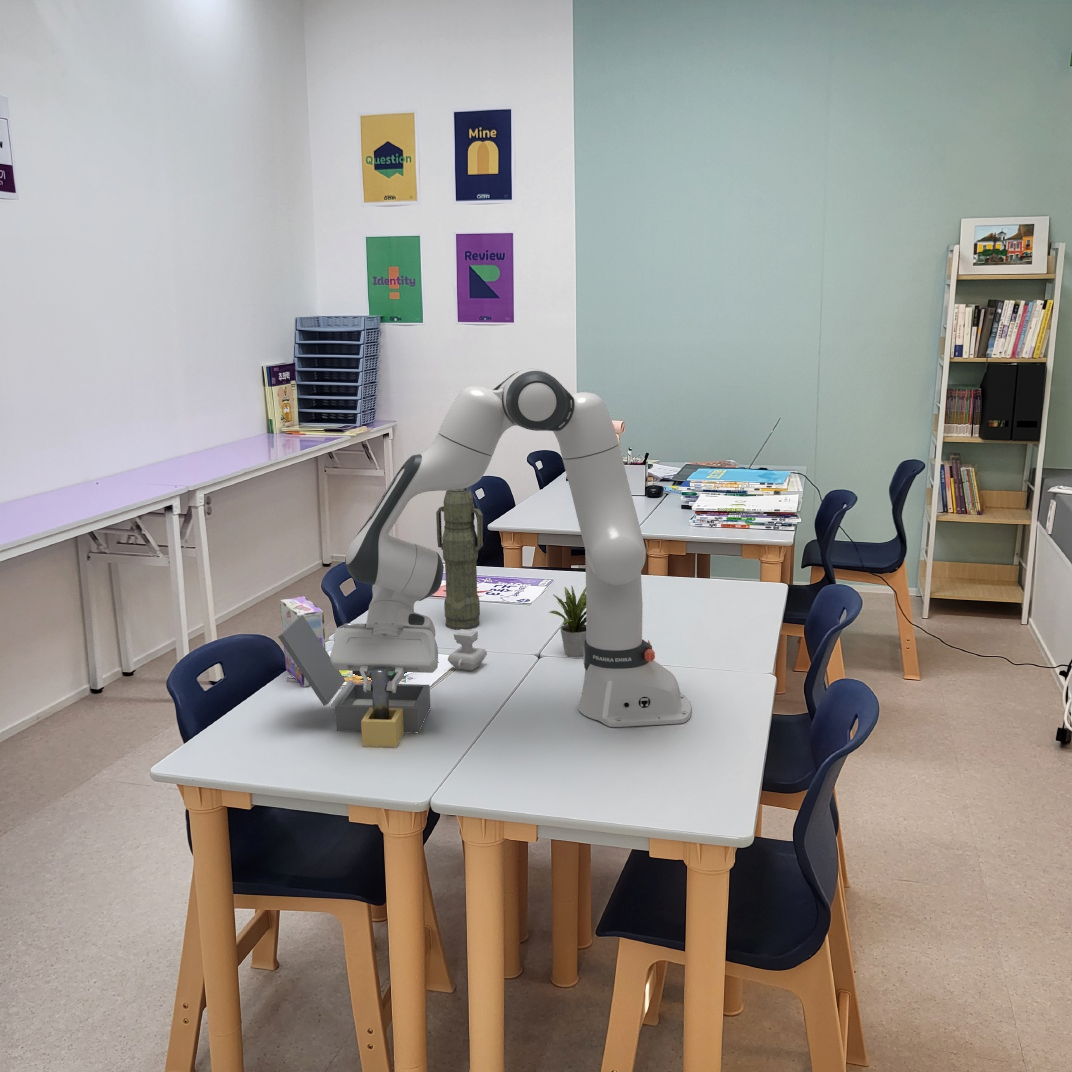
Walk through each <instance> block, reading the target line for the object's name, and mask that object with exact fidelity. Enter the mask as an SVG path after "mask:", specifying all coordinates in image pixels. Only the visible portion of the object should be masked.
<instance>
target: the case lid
mask: <svg viewBox="0 0 1072 1072" xmlns="http://www.w3.org/2000/svg"><path fill="white" fill-rule="evenodd" d="M277 637H278V640H279V641H280V642H281V645H283V648H284V647H285V648H286V650H287V651H288V653H289V654H290V656H291V657H292V659H293V660H294V662H295V663H296V665H297V666H298V668H299V669H300V671H301V672H302V674H303V675H304V677H305V678H306V680H307V681H308V683H309V684H310V686H309V687H310V688H311V689H312V691H313V692H314V694H315V695H316V697H317V698H318V700H319V701H320V703H321V705H323V707H326V706H327V705H329V703H330V702H331V701H332V699H333V698H334V697H335V695H336V694H337V693H338V691H339V690H340V689H341V687H342V686H343V685H344V683H345V681H346V679H345V677H344V676H343V675H342V673H341V672H340V671H341V670H336V669H335V668H334V667H333V665H332V664H331V662H330V655H329V653H328V652H327V650H326V647H325V648H324V647H323V645H322V644H321V642H320V641H319V639H318V638H317V636H316V635H315V633H314V632H313V630H312V629H311V627H310V625H309V624H308V622H307V621H306V619H305V618H304V616H303V615H301V616H299V617H298V618H297V619H296V620H295V621H294V622H293V623H292V624H291V625H290V626H289V627H288V628H287V629H286V630H285V631H284V632H283V631H282V632H281V633H280V634H279V635H278V636H277Z"/></svg>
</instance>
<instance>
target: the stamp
mask: <svg viewBox="0 0 1072 1072" xmlns="http://www.w3.org/2000/svg"><path fill="white" fill-rule="evenodd" d="M453 637H454V638H453V639H454V641H455V642H456V644H459V645H461V646H459V648H457V649H456V650H454V651H453V652H451V653H450V654H449V655H448V657H447V661H448V663H449V664H450V665H451V666H452V667H455V668H454V669H457V670H458V669H459V670H465V671H473V670H475V669H477V667H479V666H480V665H481V664H482V663H483V661H484V660H485V659H486V657H487V655H488V653H487V650H486V649H484V648H480V647H473V644H474V643H475V642H476V641H477V640H478V639H479V638H478V637H479V631H478V630H473V629H467V630H464V629H460V630H456V632H455V633H453Z"/></svg>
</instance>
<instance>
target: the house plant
mask: <svg viewBox="0 0 1072 1072" xmlns="http://www.w3.org/2000/svg"><path fill="white" fill-rule="evenodd" d="M564 596H565V601H563V599H561V598H559V597H558V596H557V595H555V594H553V597H555V598H556V600H557V602H558V605H559V606H560V607H561V608H562V609H563V612H564V614H565V615H564V614H563V613H561V612H559V611H558V610H551V611H548V613H549V614H552V615H553V614H554V615H557V616H559V617H561V618H562V619H563V622H562V624H563V625H561V626H560V628H559V629H560V634H561V639H562V640H561V641H562V646H563V651H564V655H565V656H567V657H569V658H582V657H583V655H584V654H583V651H584V642H585V640H586V587H584V589H583V591H582V593H581V594H580V596H579V598H578V600H577V597H576V593H575V590H574V587H573V585H571V592H570V591H569V589H568V588H567V587H566V586H564ZM565 616H566V617H565Z"/></svg>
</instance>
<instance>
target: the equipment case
mask: <svg viewBox="0 0 1072 1072" xmlns="http://www.w3.org/2000/svg"><path fill="white" fill-rule="evenodd" d="M363 686H364V682H354V681H353V680H351V679H349V680H347V682H346V683H345V685H344V686H343V688H342V689H341V690H340V691H339V693H338V694H337V696H336V697H335V698H334V699H333V701H332V703H330V709H332V710H334V712H335V727H336V728H335V729H336V731H337V732H362V729H361V721H362V719H363V717H364V716H365V714H366V713H367V711H368V710H369V708H370V707H373V702H372V692H364V690H363ZM388 695H389V708H403V722H404V732H419V733H420V731H421V729H422V727H421V726H423V725H422V724H424V722H425V720H426V718H427V716H428V714H429V712H430V710H431V708H430V707H431V687H430V684H419V683H418V684H412V683H411V684H407V683H399V684H398V685H397V688H396V693H388ZM429 709H430V710H429ZM428 711H429V712H428ZM427 713H428V714H427ZM426 715H427V716H426ZM425 717H426V718H425ZM424 719H425V720H424ZM423 721H424V722H423ZM420 728H421V729H420ZM419 730H420V731H419Z"/></svg>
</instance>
